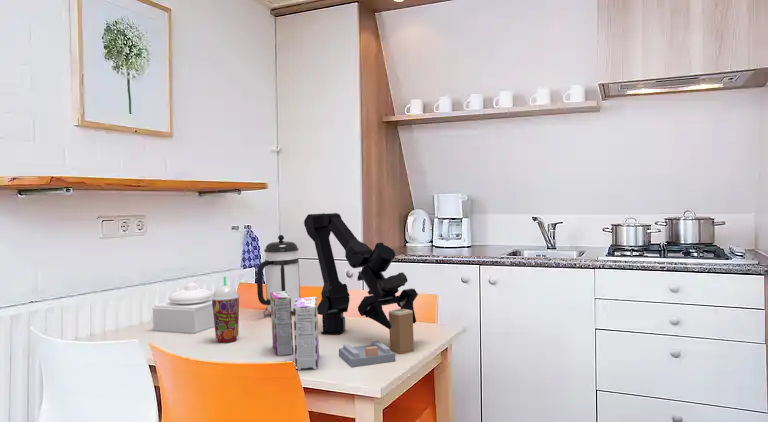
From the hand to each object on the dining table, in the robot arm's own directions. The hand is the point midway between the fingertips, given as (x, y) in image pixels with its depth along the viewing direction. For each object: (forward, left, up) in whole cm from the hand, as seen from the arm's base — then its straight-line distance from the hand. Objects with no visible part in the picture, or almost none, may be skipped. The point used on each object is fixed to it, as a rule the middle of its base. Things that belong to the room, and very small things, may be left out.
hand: (402, 325), depth 165 cm
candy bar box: (-35, -1, -8) cm, 36 cm away
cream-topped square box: (-1, +1, -7) cm, 7 cm away
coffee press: (-53, +49, -8) cm, 73 cm away
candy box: (-24, -12, -8) cm, 28 cm away
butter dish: (-79, +29, -8) cm, 84 cm away
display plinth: (-9, -7, -7) cm, 14 cm away
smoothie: (-57, +10, -8) cm, 58 cm away
